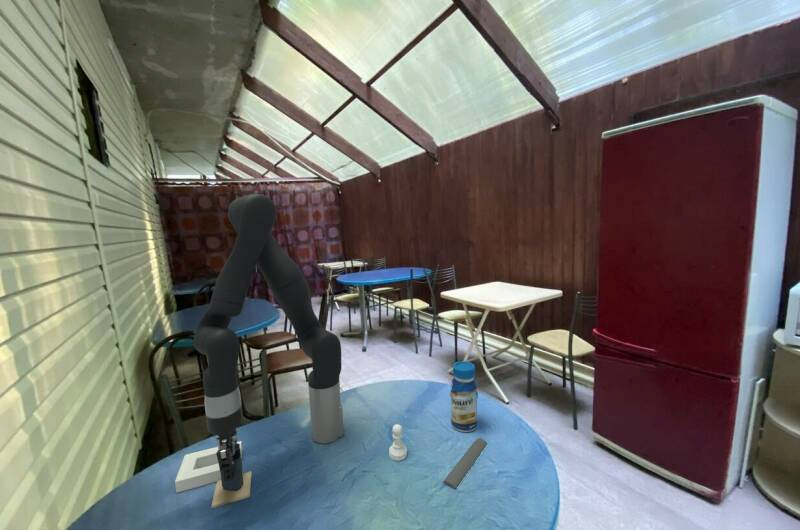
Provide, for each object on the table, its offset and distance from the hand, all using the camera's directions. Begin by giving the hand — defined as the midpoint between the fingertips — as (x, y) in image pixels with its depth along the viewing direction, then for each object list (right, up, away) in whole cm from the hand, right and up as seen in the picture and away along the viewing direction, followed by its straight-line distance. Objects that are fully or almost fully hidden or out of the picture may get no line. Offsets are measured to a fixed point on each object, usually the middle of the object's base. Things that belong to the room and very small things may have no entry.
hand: (231, 471), depth 79 cm
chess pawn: (+41, -3, +11) cm, 43 cm away
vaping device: (0, -5, +1) cm, 5 cm away
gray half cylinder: (+60, -3, +8) cm, 60 cm away
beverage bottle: (+62, 0, +23) cm, 66 cm away
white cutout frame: (-9, -4, +7) cm, 12 cm away
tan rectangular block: (0, -5, +1) cm, 5 cm away
